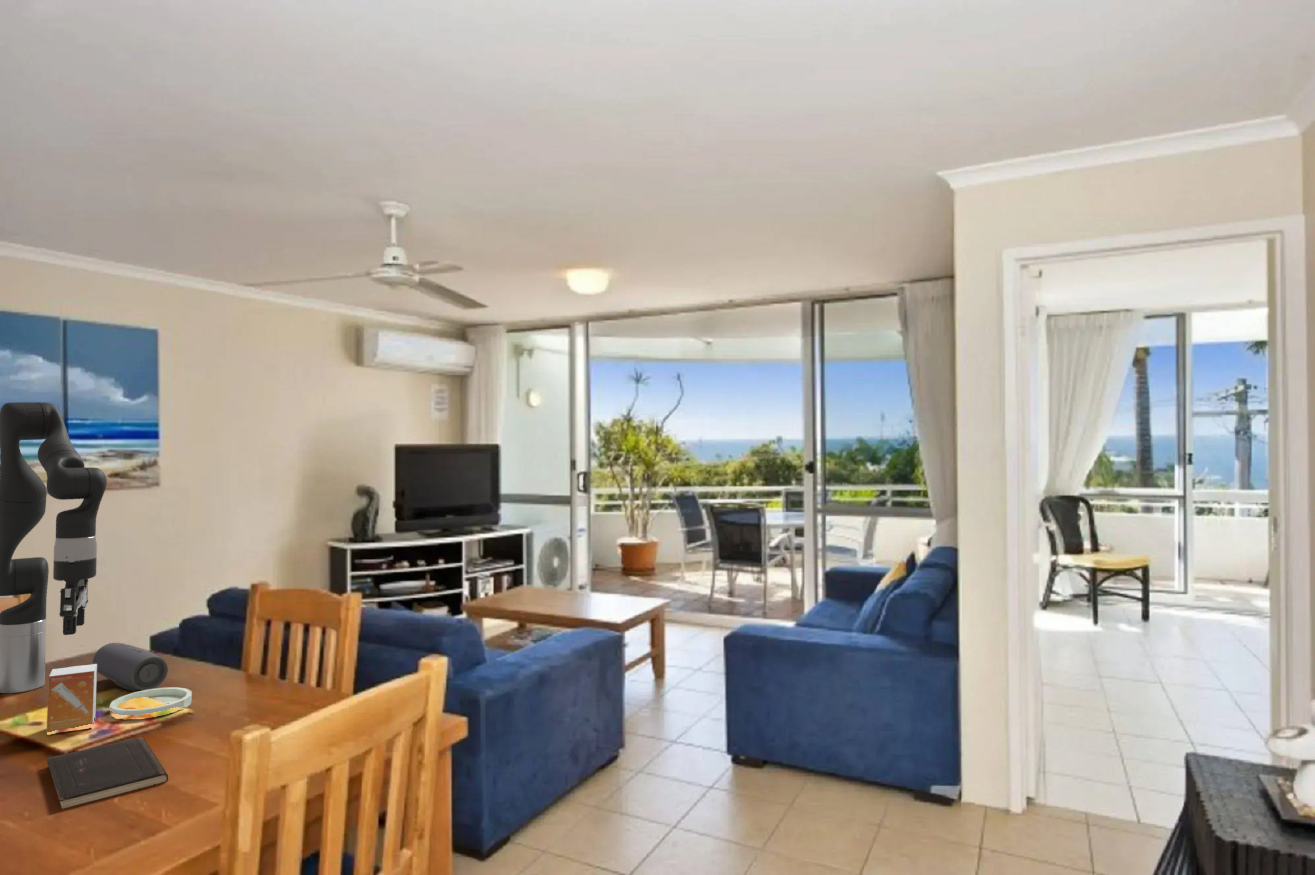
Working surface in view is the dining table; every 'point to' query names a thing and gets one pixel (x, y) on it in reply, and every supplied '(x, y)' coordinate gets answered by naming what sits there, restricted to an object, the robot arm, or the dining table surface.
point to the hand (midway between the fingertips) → (73, 629)
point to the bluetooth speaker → (130, 666)
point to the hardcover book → (104, 771)
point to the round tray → (165, 695)
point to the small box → (71, 697)
